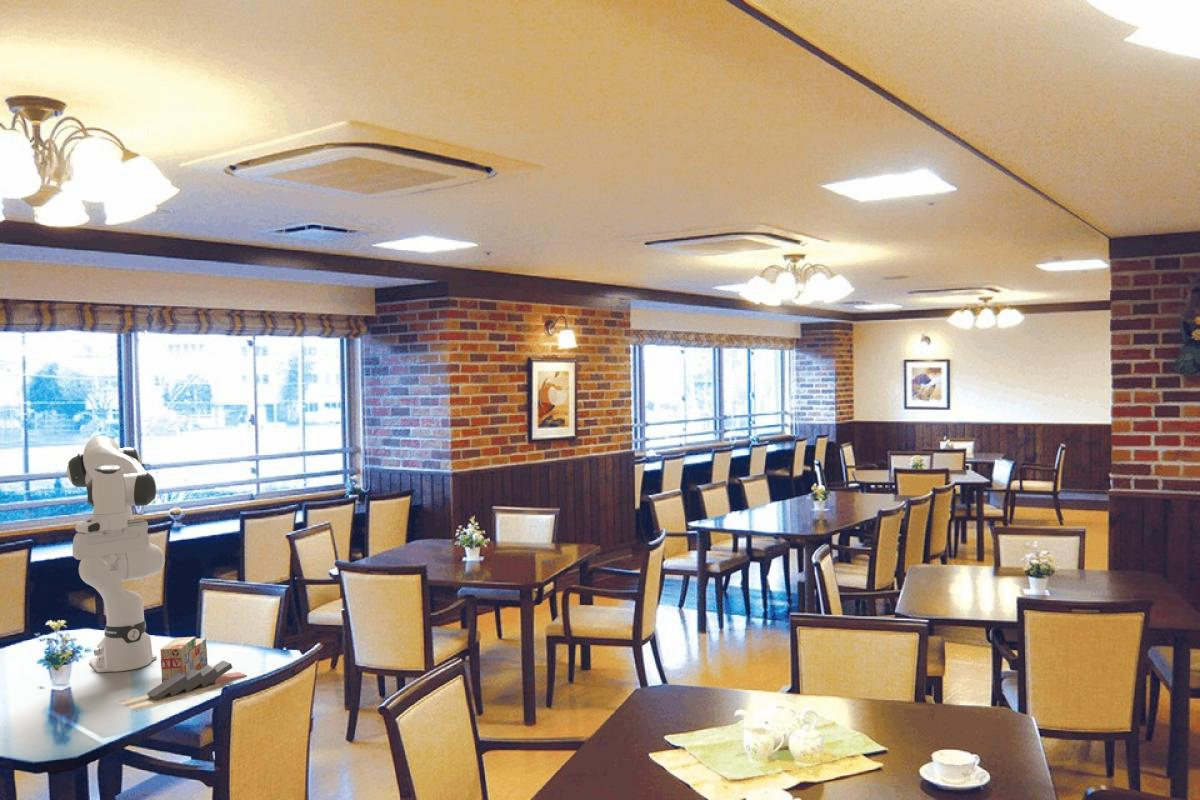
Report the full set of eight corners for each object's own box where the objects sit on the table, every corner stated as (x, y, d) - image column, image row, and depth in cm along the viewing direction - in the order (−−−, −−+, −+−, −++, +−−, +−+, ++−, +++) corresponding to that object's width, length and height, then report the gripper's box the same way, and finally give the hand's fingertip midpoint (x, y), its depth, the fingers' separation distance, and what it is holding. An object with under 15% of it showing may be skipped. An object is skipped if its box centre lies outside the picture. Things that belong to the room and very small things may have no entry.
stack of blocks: (188, 667, 314) (186, 629, 313) (208, 666, 314) (206, 628, 314) (161, 688, 292) (159, 648, 292) (182, 687, 292) (181, 647, 292)
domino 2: (169, 692, 279) (200, 671, 286) (162, 688, 283) (192, 668, 290) (172, 696, 280) (202, 676, 287) (164, 693, 283) (194, 673, 290)
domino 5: (215, 679, 290) (246, 675, 297) (207, 675, 293) (238, 672, 301) (215, 684, 290) (246, 680, 297) (207, 681, 293) (238, 677, 301)
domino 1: (154, 696, 276) (185, 675, 283) (146, 693, 279) (177, 672, 286) (156, 701, 277) (187, 680, 283) (148, 697, 280) (180, 677, 287)
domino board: (117, 706, 277) (117, 701, 277) (204, 682, 297) (204, 678, 296) (136, 715, 268) (136, 711, 268) (225, 690, 288) (225, 686, 288)
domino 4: (201, 683, 286) (230, 663, 293) (193, 679, 290) (222, 660, 297) (203, 687, 287) (232, 667, 294) (195, 684, 290) (224, 664, 297)
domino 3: (184, 688, 283) (214, 668, 290) (177, 684, 286) (207, 665, 293) (187, 692, 283) (216, 672, 290) (179, 689, 287) (209, 669, 293)
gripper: (142, 516, 287) (145, 562, 287) (69, 526, 271) (71, 575, 272) (152, 518, 283) (154, 565, 283) (77, 528, 267) (80, 577, 268)
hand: (113, 570), depth 277 cm, fingers closed
